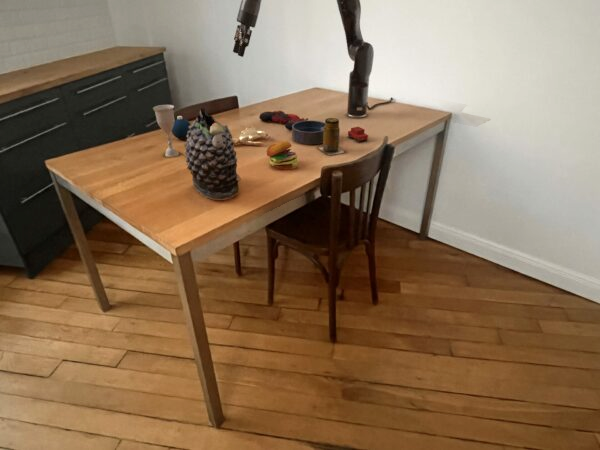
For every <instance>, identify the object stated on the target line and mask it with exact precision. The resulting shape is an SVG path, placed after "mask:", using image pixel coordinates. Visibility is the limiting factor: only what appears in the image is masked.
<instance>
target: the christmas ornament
mask: <svg viewBox="0 0 600 450" xmlns="http://www.w3.org/2000/svg"><path fill="white" fill-rule="evenodd" d="M191 125H192V123H191V122H190V121H189V120H188V119H186V118H183V116H182V115H178V116H177V118H176V119H175V121H174V126H173V129H172V131H171V133H172V135H173V136H174V137H175V138H176V139H179V140H187V137H186V136H187V135H188V133H187V132H188V131H189V130H190V129H189V126H191Z"/></svg>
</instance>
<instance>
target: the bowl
mask: <svg viewBox="0 0 600 450" xmlns="http://www.w3.org/2000/svg"><path fill="white" fill-rule="evenodd" d="M324 126H325V121H324V122H323V121H319V120H307V121H300V122H296V123H294V124H293V125H292V130H291V138H292V140H293V141H294V142H295V143H299V144H304V145H318V144H323V137H324Z"/></svg>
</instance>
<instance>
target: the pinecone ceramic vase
mask: <svg viewBox="0 0 600 450" xmlns="http://www.w3.org/2000/svg"><path fill="white" fill-rule="evenodd" d="M189 129H190V130H189V131H188V132H187V133H188V135H187V136H186V137H187V138H186V141H185V142H184V144H183V146H184V147H185V151H184V155H185V158H186V159H185V162H186V165H187V167H186V169H187V170H188V171H190V174H191V177H192V178H191V179H192V183H193V187H194V188H195V189H196V191H197V192H199V194H200V195H201V196H202V197H205V198H207V199H211V200H215V201H225V200H228V199H231V198H233V197H234V196H235V195H236V194H238V193H239V189H240V188H239V187H240V184H239V182H240V181H241V180H242V178H241V176H240V174H238V173H237V167H238V163H237V162H238V158H237V151H235V145H233V139H234V138H233V136H232V134H231V131H230V129H229V127H228V126H227V124H225V125H222V124H221V122H219V121H217V120H216V118H214V117H213V115H210V114H209V113H208V112H207V111H206V110H205V109H204V108H203V107H202V108H200V110H199V115H196V119H194V121H193V123H191V126H189Z"/></svg>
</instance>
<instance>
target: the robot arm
mask: <svg viewBox="0 0 600 450" xmlns="http://www.w3.org/2000/svg"><path fill="white" fill-rule="evenodd" d="M261 4H262V0H241V2H240V5H239V9H238V12H237V17H236V22H237V23H240V24H237V26H236V30H235V34H234V38H233V41H234V46H233V49H232V52H233V54H237V56H239V57H241V58H243V57H244V56H245V51H246V48H247V47H249V46H250V45H249V44H250V41H251V37H252V33H253V30H252V29H251V28H253V29H254V28H256V25H257V21H258V18H259V14H260V11H261ZM336 4H337V8H338V12H339V15H340V19H341V24H342V27H343V30H344V35H345V41H346V42H345V43H346V49H347V54H348V57H349V59H350V60H351V61H352V62H353V69H352V70H351V71H350V72H349V76H348V95H347V109H346V116H347V117H349V118H351V119H364V118H366V117H367V109H368V110H373V109H374V108H375V107H377V106H380V105H387V104H390V103H391V102H393V99H394V98H393V97H390V100H389V101H385V102H384V101H383V102H377V103H375V104H373V105H372V106H371V107H370V106H369V102H368V100H369V99H368V98H369V88H370V87H369V85H370V76H371V74H372V71H373V64H374V55H375V54H374V52H375V50H374V47H373V45H372V44H371V43H370V42H368V41H365V40H364V38H363V35H362V30H361V16H362V6H361V1H360V0H336Z"/></svg>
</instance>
